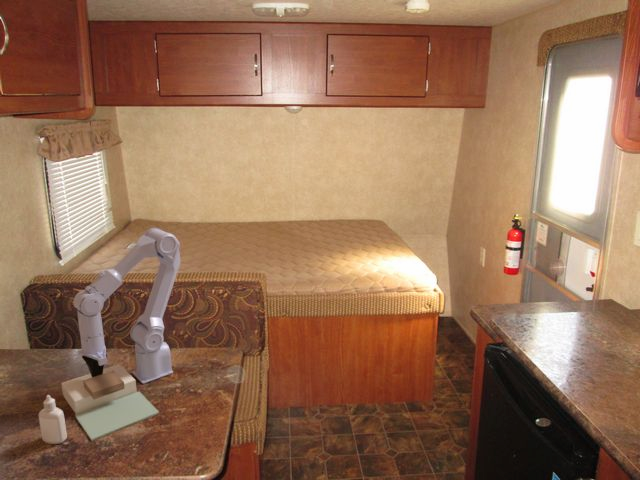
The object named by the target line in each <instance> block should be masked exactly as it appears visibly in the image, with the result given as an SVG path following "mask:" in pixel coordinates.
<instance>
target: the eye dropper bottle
mask: <svg viewBox="0 0 640 480" xmlns="http://www.w3.org/2000/svg"><path fill="white" fill-rule="evenodd" d="M38 421H39V429H40V433H41V440H42V441H43V442H45V443H47V444H49V445H50V444H52V445H58V444H62V443H63V442H64V441H66V440H67V438H68V434H67V426H66V420H65V414H64V411H63V410H62V409H61V408H59V407H57V406H56V399H55V398H53V397H51V395H50V394H47V395H46V398H45V399H44V401H43V408H42V409H41V410H40V411H39V413H38Z"/></svg>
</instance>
